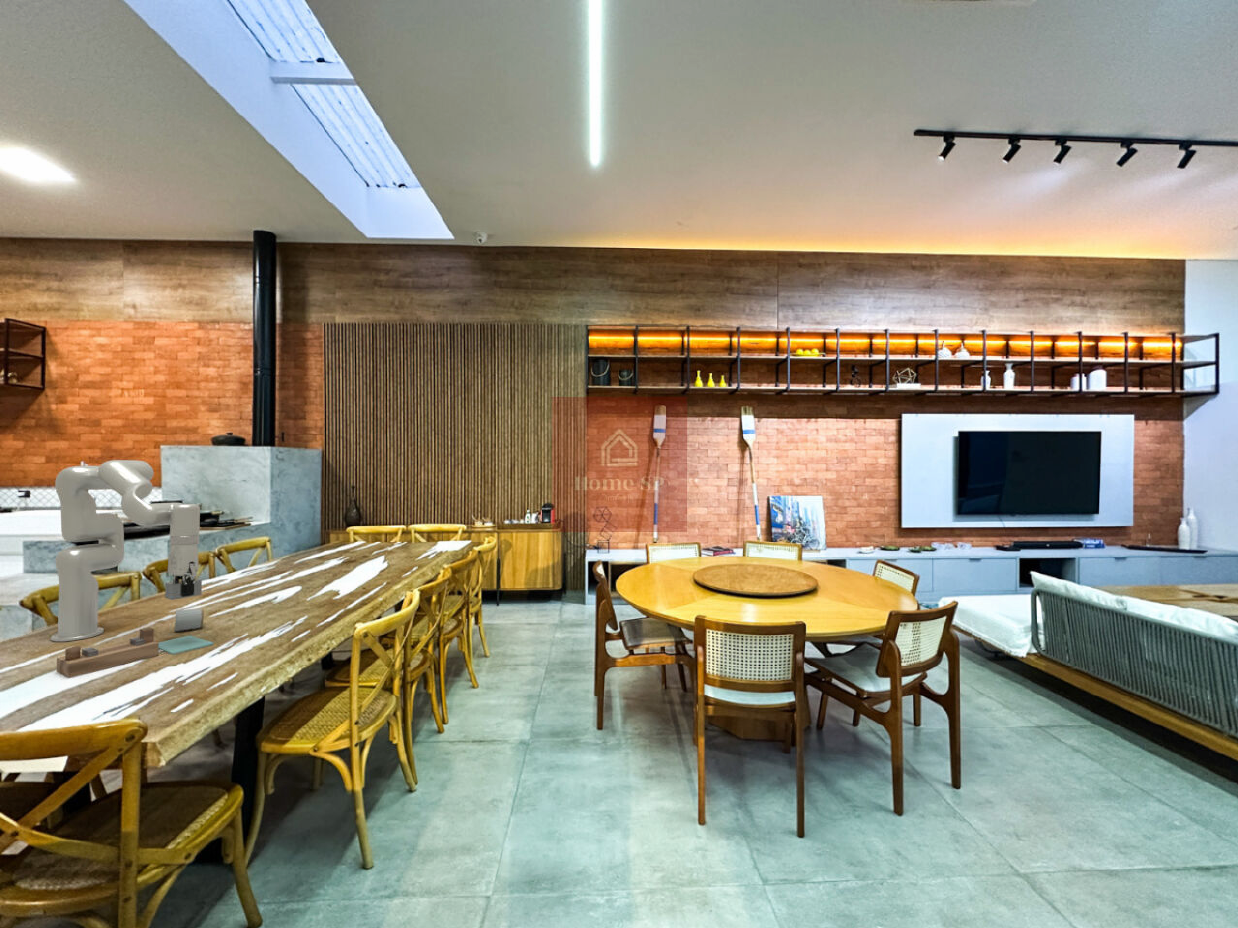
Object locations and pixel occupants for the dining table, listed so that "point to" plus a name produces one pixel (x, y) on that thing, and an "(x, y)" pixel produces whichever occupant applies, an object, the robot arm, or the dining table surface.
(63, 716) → the dining table surface
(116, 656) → the plane body
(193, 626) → the ceramic mug
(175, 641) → the mat
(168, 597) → the lever cap
